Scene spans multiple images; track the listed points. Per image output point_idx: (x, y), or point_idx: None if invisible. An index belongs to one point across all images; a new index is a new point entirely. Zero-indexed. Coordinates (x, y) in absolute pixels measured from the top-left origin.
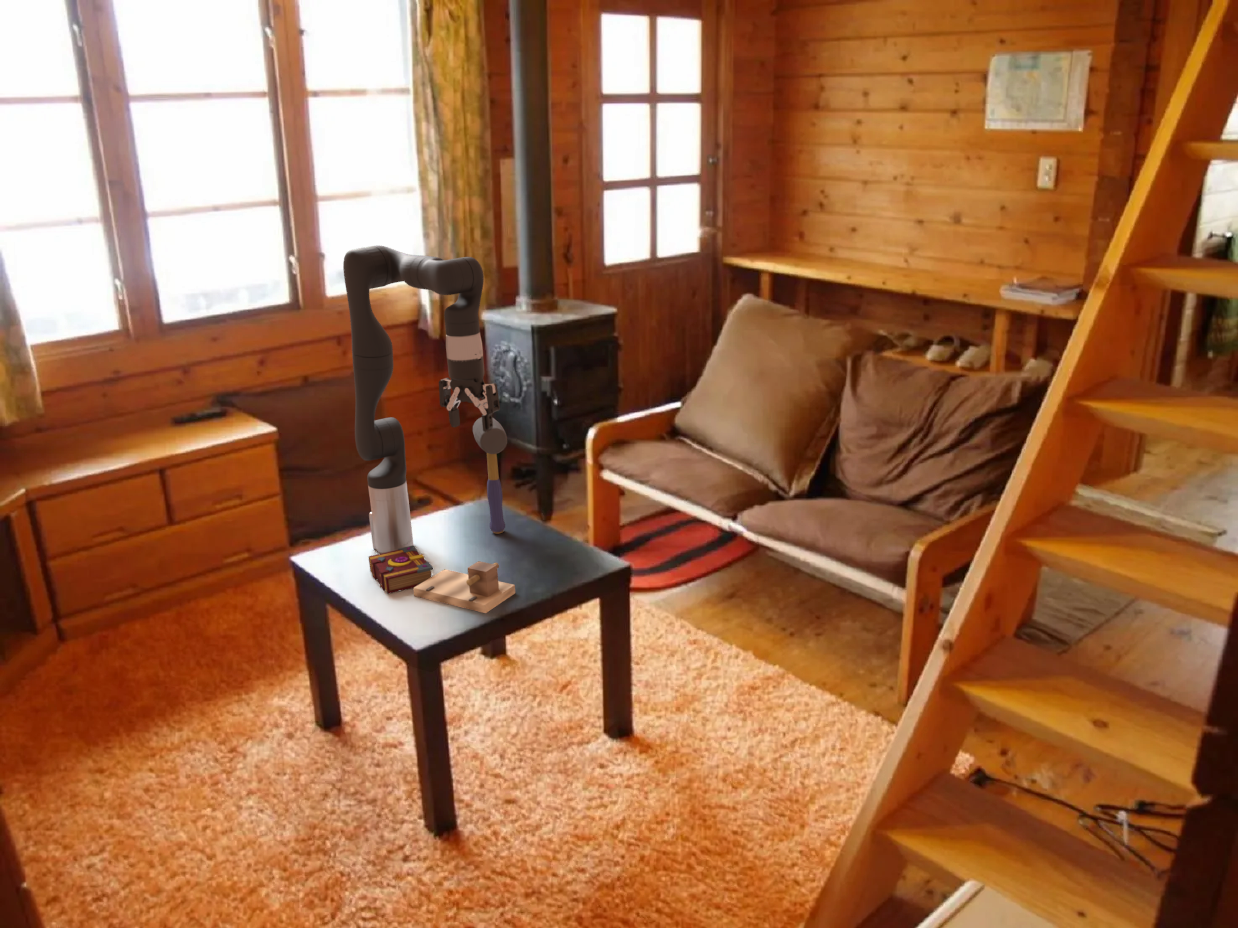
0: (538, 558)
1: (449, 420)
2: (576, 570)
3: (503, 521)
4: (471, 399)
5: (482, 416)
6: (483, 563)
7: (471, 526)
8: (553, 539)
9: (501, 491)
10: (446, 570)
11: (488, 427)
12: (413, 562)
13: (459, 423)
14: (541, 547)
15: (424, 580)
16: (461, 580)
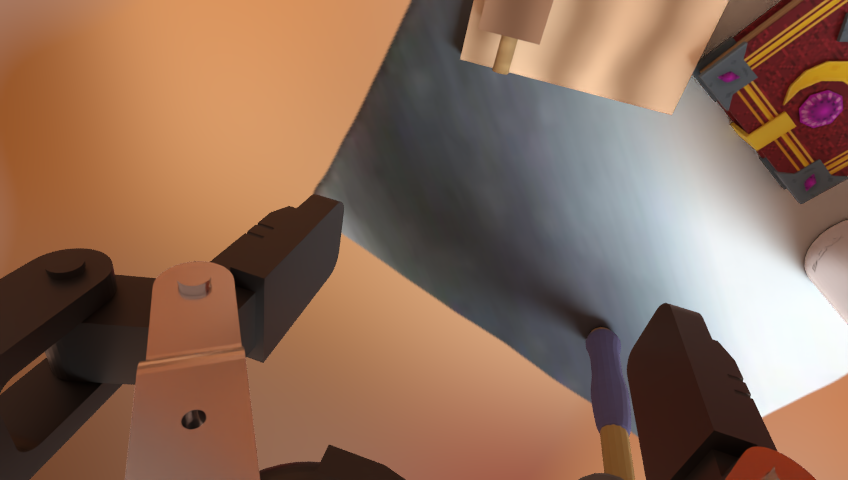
0: (475, 228)
1: (738, 370)
2: (382, 184)
3: (588, 350)
4: (247, 472)
5: (261, 269)
6: (519, 30)
7: None
8: (476, 308)
9: (592, 403)
10: (663, 107)
11: (277, 214)
12: (773, 99)
13: (631, 368)
14: (487, 274)
15: (719, 57)
16: (603, 56)
